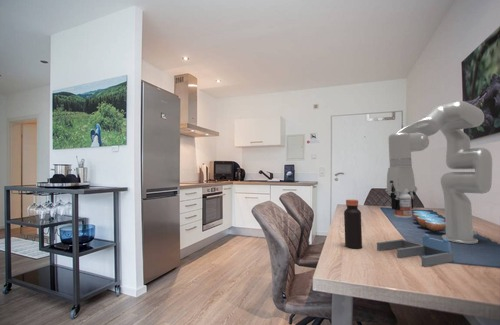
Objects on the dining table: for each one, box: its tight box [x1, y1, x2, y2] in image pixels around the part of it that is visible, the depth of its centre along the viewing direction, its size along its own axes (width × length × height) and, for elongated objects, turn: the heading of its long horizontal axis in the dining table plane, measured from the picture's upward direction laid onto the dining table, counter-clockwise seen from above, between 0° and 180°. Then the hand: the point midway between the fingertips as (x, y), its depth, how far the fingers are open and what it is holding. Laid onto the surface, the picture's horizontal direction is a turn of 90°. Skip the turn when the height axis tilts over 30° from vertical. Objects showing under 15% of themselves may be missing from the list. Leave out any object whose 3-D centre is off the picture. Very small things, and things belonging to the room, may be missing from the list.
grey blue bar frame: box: [376, 233, 454, 268], centre depth 93 cm, size 14×20×8 cm
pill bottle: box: [393, 189, 413, 219], centre depth 96 cm, size 6×6×11 cm
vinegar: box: [343, 199, 363, 250], centre depth 105 cm, size 7×7×20 cm
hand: (402, 208), depth 96 cm, fingers closed on pill bottle, 6 cm apart
